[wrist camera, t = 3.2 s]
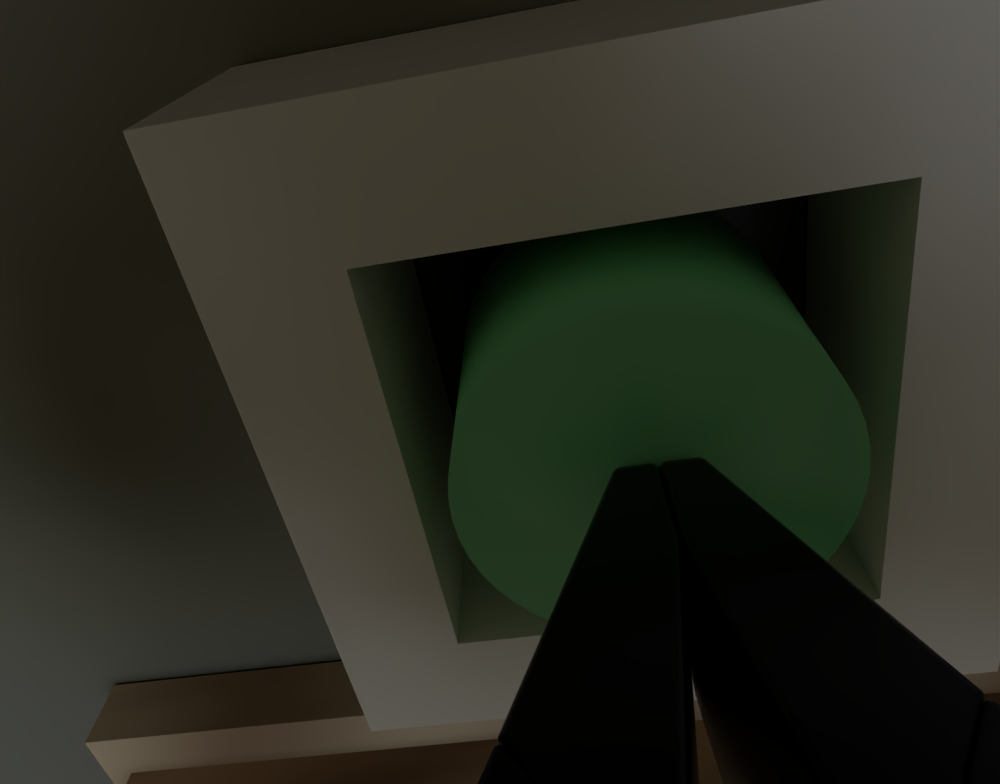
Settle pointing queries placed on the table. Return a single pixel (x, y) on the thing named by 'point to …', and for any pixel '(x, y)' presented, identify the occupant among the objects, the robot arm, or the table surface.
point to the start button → (640, 393)
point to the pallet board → (300, 733)
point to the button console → (575, 208)
